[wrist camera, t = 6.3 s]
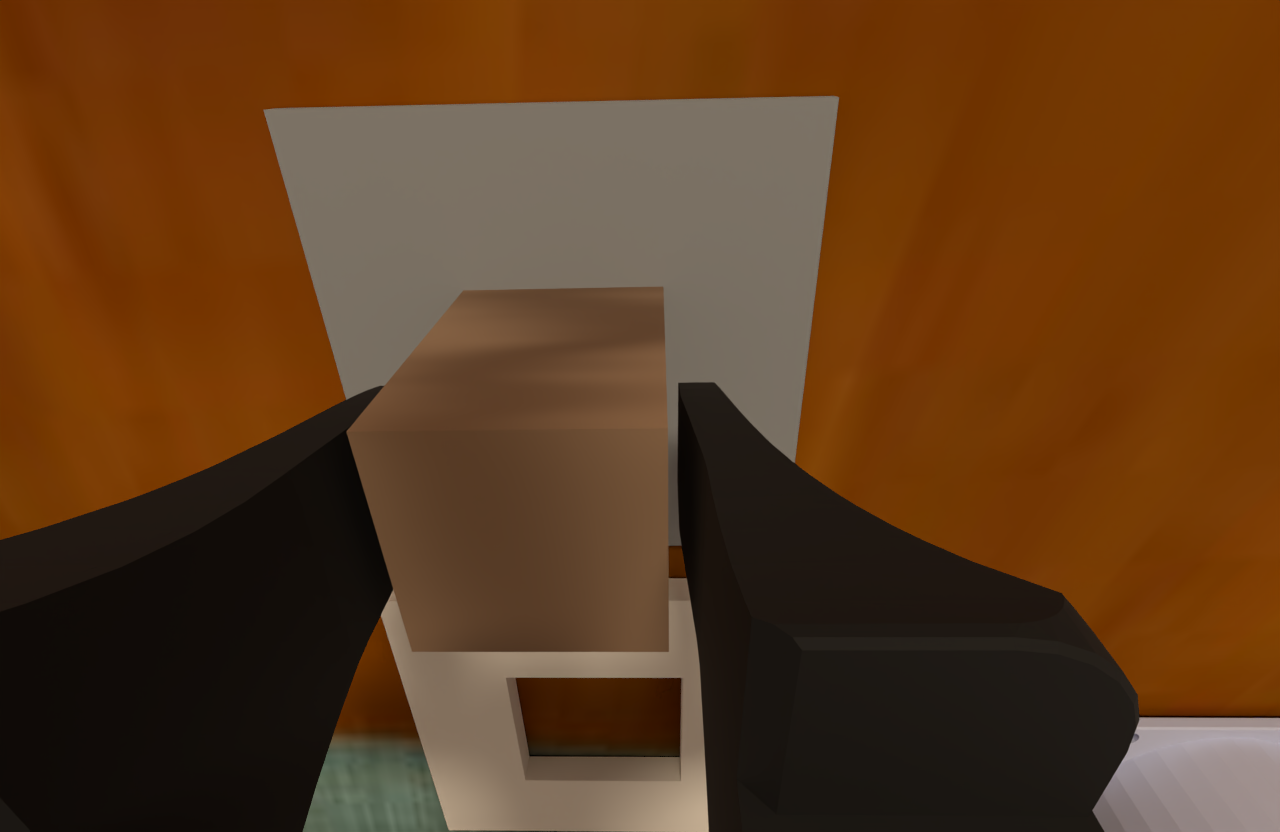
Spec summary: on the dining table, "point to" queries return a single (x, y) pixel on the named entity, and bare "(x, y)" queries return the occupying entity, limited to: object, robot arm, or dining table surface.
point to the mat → (573, 228)
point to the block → (527, 474)
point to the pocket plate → (542, 785)
